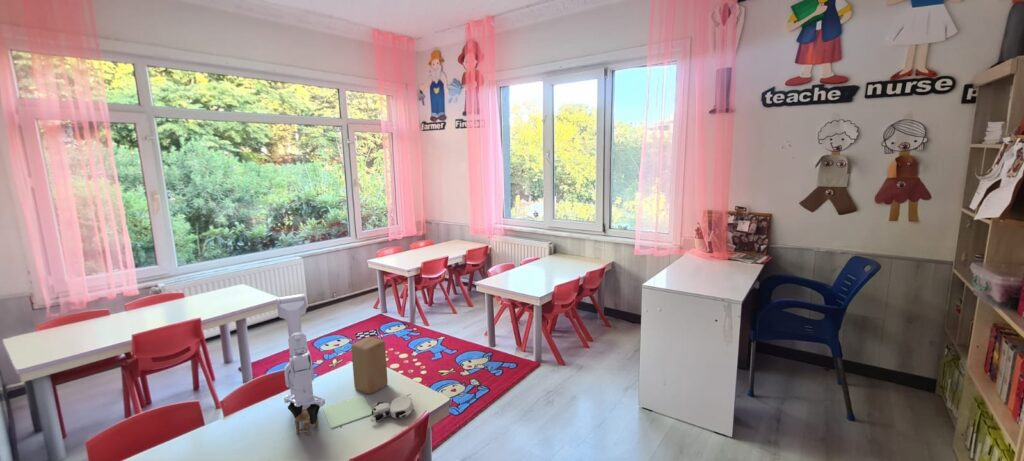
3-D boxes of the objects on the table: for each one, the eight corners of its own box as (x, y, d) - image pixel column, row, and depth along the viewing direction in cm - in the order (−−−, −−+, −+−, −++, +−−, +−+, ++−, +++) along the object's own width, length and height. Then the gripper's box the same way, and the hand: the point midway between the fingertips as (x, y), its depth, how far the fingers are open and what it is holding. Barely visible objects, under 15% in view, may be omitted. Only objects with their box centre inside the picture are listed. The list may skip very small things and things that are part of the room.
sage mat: (322, 408, 162) (322, 407, 162) (362, 396, 170) (362, 395, 170) (331, 428, 149) (331, 427, 149) (373, 414, 158) (373, 413, 158)
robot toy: (370, 429, 151) (413, 420, 153) (368, 418, 150) (411, 409, 153) (374, 409, 162) (414, 402, 165) (372, 399, 162) (412, 391, 164)
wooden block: (388, 384, 178) (385, 340, 175) (369, 396, 170) (366, 349, 167) (372, 378, 184) (369, 335, 180) (353, 389, 175) (349, 344, 172)
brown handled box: (296, 434, 147) (294, 418, 146) (305, 425, 152) (304, 410, 151) (309, 435, 146) (307, 419, 145) (318, 426, 151) (316, 411, 150)
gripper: (276, 390, 143) (280, 426, 146) (314, 394, 141) (318, 431, 143) (290, 380, 150) (294, 414, 153) (327, 383, 148) (330, 418, 150)
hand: (306, 422), depth 148 cm, fingers closed on brown handled box, 5 cm apart
